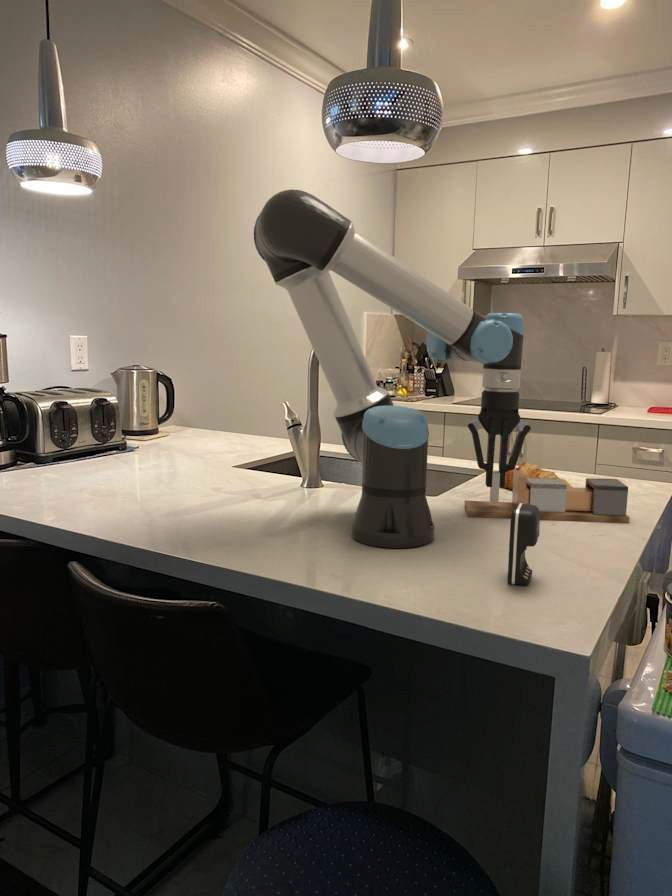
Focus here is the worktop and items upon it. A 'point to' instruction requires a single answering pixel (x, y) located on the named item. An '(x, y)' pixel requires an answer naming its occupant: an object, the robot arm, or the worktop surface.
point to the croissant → (530, 474)
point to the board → (506, 510)
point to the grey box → (608, 496)
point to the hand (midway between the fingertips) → (493, 502)
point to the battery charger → (522, 541)
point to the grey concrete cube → (547, 494)
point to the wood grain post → (574, 496)
